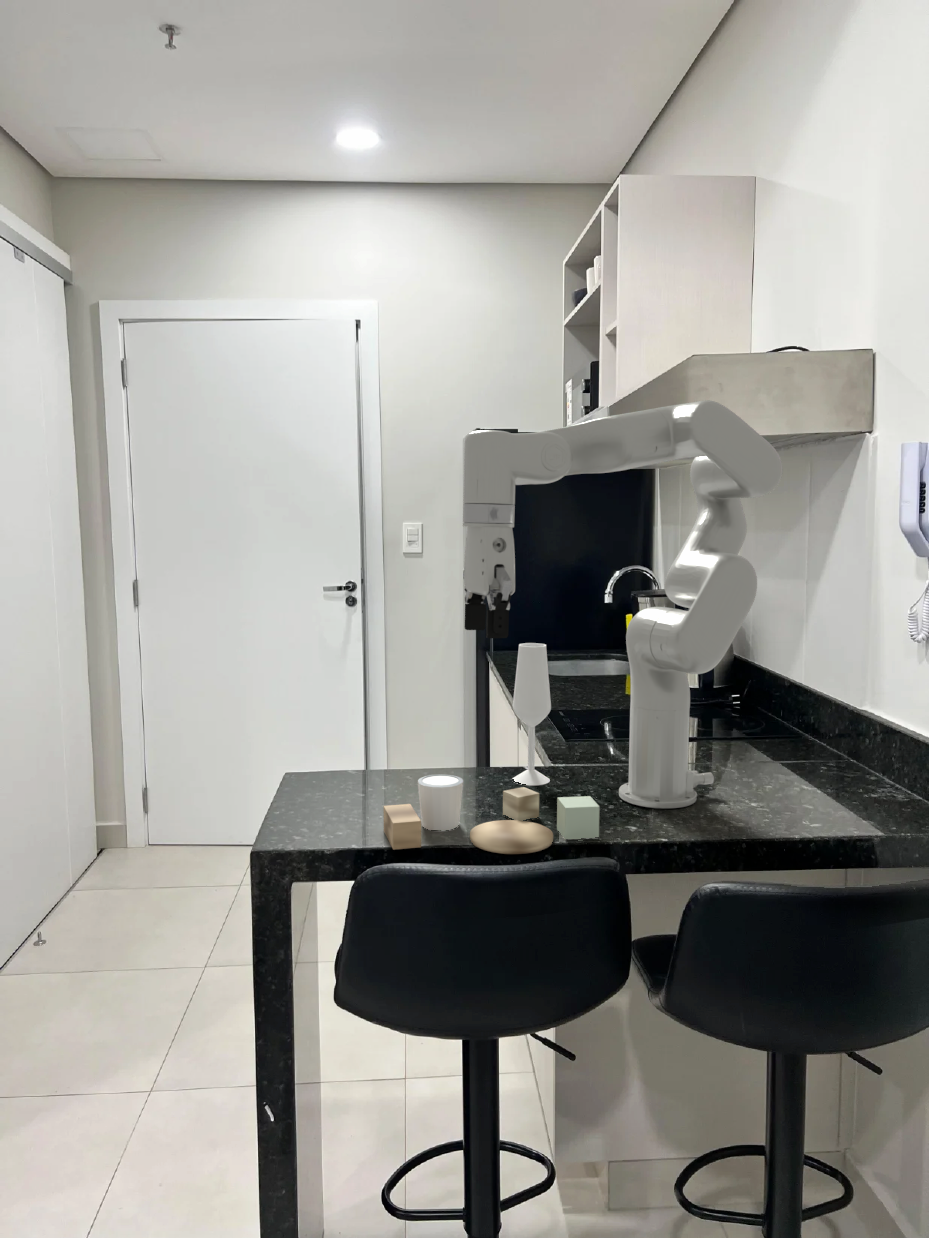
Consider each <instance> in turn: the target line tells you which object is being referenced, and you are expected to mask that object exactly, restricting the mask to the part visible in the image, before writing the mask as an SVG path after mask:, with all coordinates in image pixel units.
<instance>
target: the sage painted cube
mask: <svg viewBox="0 0 929 1238" xmlns="http://www.w3.org/2000/svg"><path fill="white" fill-rule="evenodd" d="M556 802H557V803H556V805H557V806H556V808H557V809H556V830H557V832H558V831H559V832H560V833H561V835H562V836H563V837H564V839H581V838H595V837H599V838H600V805H599V804H598V803H597V802H596V801H595V800H594V799H593V797H591V795H587V796H586V795H584V796H563V797H561V796H560V797H557V799H556ZM559 832H558V833H559ZM560 833H559V834H560ZM561 835H560V836H561ZM562 836H561V837H562ZM563 837H562V838H563ZM564 839H563V840H564Z"/></svg>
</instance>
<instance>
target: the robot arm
mask: <svg viewBox="0 0 929 1238" xmlns="http://www.w3.org/2000/svg"><path fill="white" fill-rule="evenodd" d="M463 449H464V450H463V451H464V453H463V456H464V458H463V459H464V460H463V496H462V497H463V501H462V502H463V506H462V527H466V528H467V529H466V537H465V549H464V561H463V562H464V565H463V583H464V585H463V586H464V591H465V595H464V603H465V604H464V630H465V631H484V630H485V629H486V630H485V631H486V632H485V637H486V638H488V639H507V638H508V637H509V631H510V630H509V627H510V625H509V624H510V609H511V603H510V601H511V599H512V595H513V594H514V593H515V592H516V558H515V557H516V555H515V553H516V551H515V538H514V531H513V528H515V509H516V508H515V507H516V506H515V505H516V486H522V485H546V484H551V483H555V482H557V481H559V480H562V478H564V477H565V476H573V475H581V474H605V473H614V472H621V471H627V470H630V469H636V468H641V467H647V466H651V465H655V464H661V463H665V462H670V461H675V460H681V459H689V458H693V460H692V462H691V465H690V470H689V471H690V472H689V478H690V479H689V480H690V484H691V486H692V489H693V490H692V491H693V493H694V495H695V501H696V506H697V507H696V508H697V512H696V520H695V522H694V524H693V526H692V529H691V530H690V533H689V534H688V537H687V538H686V540H685V541H684V542H683V544H682V546H681V548H680V550H679V551H678V554H677V556H676V557H675V559H674V560H673V562H672V563H671V566H670V568H669V570H668V572H667V574H666V576H665V579H664V593H665V595H666V597H667V598H668V599H669V601H671V602H672V603H674V604H675V605H677V606H680V607H683V608H686V609H687V608H688V610H683V609H679V608H674V607H673V608H672V607H667V606H666V607H665V606H650V607H646V608H643V609H642V610H639V611H637V613H636V614H635V615H634V616H633V617H632V618H631V620H630V621H629V623H628V626H627V628H626V634H625V640H626V641H625V644H626V652H627V658H628V659H627V660H628V663H629V673H630V674H629V675H630V676H629V677H630V704H629V706H630V708H629V746H628V747H629V749H628V751H629V752H628V782H625V783H624V784H622V785H620V787H619V788H618V796H619V798H620V799H621V800H623V801H624V802H626V803H628V804H631V805H634V806H635V805H636V806H639V807H642V808H644V807H645V808H651V809H679V808H684V807H688V806H691V805H693V804H694V803H696V802H697V797H698V796H697V795H698V794H697V792H696V790H695V789H694V788H697V786H698V785H701V786H703V785H705V786H706V785H711V784H714V782H715V777H714V775H713V773H712V772H711V771H710V772H702V773H701V772H700V773H699V772H698V770H690V769H689V743H690V742H689V737H690V735H689V734H690V733H689V732H690V707H691V690H690V683H689V679H688V678H689V677H688V674H691V675H701V674H702V675H703V674H705V673H708V672H710V671H712V670H713V669H714V668H715V667H717V666H718V664H719V663H720V662H721V661H722V659H723V658H724V657H725V656H726V654H727V651H728V650H729V649H730V647H731V645H732V643H733V641H734V639H735V637H736V636H737V634H738V632H739V630H740V629H741V627H742V625H743V623H744V622H745V620H746V617H747V616H748V615H749V612H750V610H751V609H752V606H753V605H754V602H755V599H756V596H757V593H758V592H757V590H758V577H757V572H756V570H755V568H754V566H753V564H752V563H751V562H750V561H749V560H748V559H747V558H745V557H744V556H741V555H739V553H740V552H741V549H742V548H743V545H744V542H745V540H746V535H747V531H748V529H747V528H748V524H747V520H746V515H745V512H744V511H745V510H744V508H743V504H742V500H741V499H742V498H743V499H745V498H747V499H748V498H750V499H751V498H753V499H754V498H760V497H764V496H766V495H769V494H771V493H772V492H773V491H775V489H776V488H778V486H779V484H780V482H781V480H782V476H783V463H782V459H781V456H780V454H779V452H778V451H777V450H776V448H775V447H774V446H773V445H772V444H771V442H769V441H768V440H767V439H765V438H764V437H763V436H762V435H761V433H758V432H757V430H755V428H753V427H751V425H749V424H748V423H747V422H746V421H745V420H744V419H742V418H741V417H740V416H739V415H738V414H737V413H736V412H733V410H731V409H730V408H728V407H726V406H725V405H723V404H722V403H719V402H717V401H715V400H708V399H707V400H706V399H705V400H699V401H693V402H687V403H686V402H685V403H679V404H673V405H667V406H661V407H656V408H649V409H645V410H639V411H632V412H626V413H621V414H614V415H609V416H605V417H599V418H595V419H591V420H587V421H585V422H581V423H577V424H574V425H568V426H564V427H559V428H558V427H557V428H553V429H547V430H542V431H536V432H527V433H526V432H523V433H520V432H519V433H511V432H509V431H504V430H493V429H492V430H491V429H490V430H489V429H484V430H483V429H482V430H474V431H470V432H469V433H468V434H467V435H466V436H465V440H464V448H463ZM485 599H486V600H487V603H488V608H489V609H487V603H484V601H485Z"/></svg>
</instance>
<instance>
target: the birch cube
mask: <svg viewBox="0 0 929 1238" xmlns="http://www.w3.org/2000/svg"><path fill="white" fill-rule="evenodd" d="M503 815H506V816H508V817H509V818H512V819H514V820H520V821H523V820H526V819H530V818H537V817H539V818H540V793H539V792H537V791H535V790H532V789H529V788H527V787H524V786H521V787H515V788H511V789H506V790H503V791H502V816H503ZM509 818H508V819H509ZM537 819H538V818H537Z"/></svg>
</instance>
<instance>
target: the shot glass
mask: <svg viewBox="0 0 929 1238" xmlns="http://www.w3.org/2000/svg"><path fill="white" fill-rule="evenodd" d="M463 788H464V779H463V778H462V777H460V776H456V775H454V774H441V773H439V774H428V775H425V776H423V777H420V778H418V780H417V789H418V799H419V801H418V802H419V810H420V820H421V827H422V828H423V827H424V828H423V829H425V828H426V829H425V830H427V829H428V831H431V830H449V829H452V828H454V827H457V826H458V825H459V826H460V822H461V821H460V819H461V818H460V817H461V808H462V799H463ZM459 826H458V827H459ZM458 827H457V828H458ZM449 831H450V830H449Z"/></svg>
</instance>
